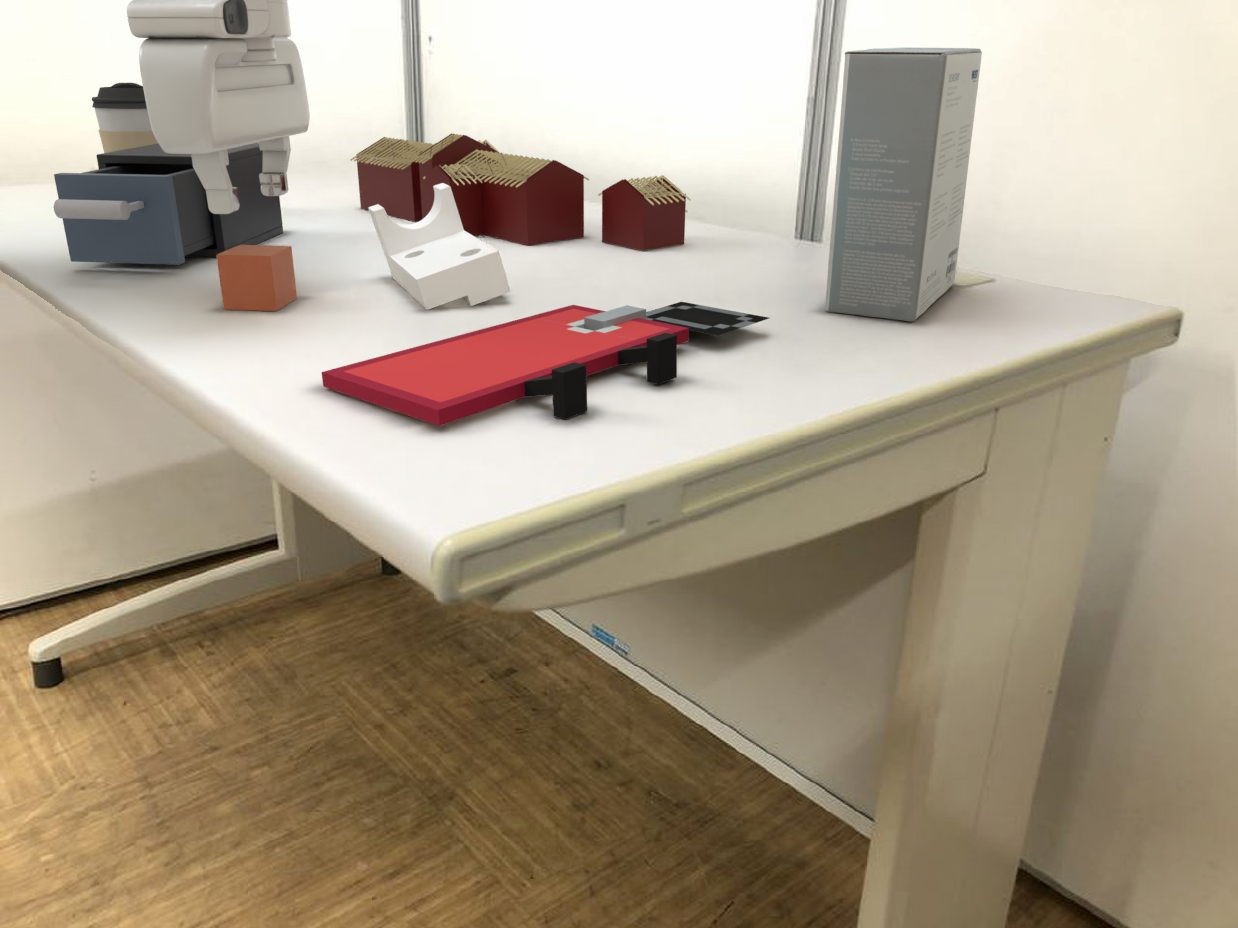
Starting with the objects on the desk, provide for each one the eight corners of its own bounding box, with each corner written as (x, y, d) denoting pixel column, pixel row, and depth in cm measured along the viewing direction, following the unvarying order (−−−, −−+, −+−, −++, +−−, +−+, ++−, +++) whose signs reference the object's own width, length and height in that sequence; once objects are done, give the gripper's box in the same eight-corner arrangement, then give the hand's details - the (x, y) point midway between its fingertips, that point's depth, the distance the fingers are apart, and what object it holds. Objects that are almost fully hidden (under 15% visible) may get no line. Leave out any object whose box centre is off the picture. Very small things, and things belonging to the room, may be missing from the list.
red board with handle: (791, 334, 75) (636, 304, 84) (793, 296, 74) (636, 270, 83) (485, 449, 55) (324, 393, 64) (482, 399, 53) (318, 350, 63)
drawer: (155, 274, 89) (140, 183, 86) (42, 271, 90) (23, 180, 87) (242, 238, 106) (232, 160, 103) (146, 236, 107) (133, 158, 104)
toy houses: (341, 210, 130) (333, 126, 126) (476, 196, 142) (473, 120, 138) (563, 266, 99) (562, 157, 95) (711, 242, 111) (715, 145, 107)
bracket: (396, 287, 94) (367, 207, 90) (467, 262, 96) (442, 183, 92) (430, 320, 83) (399, 231, 79) (510, 291, 85) (484, 202, 81)
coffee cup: (199, 216, 124) (180, 85, 119) (118, 222, 120) (95, 85, 114) (181, 206, 131) (163, 82, 126) (105, 212, 127) (82, 82, 121)
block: (223, 309, 82) (215, 254, 80) (246, 297, 86) (239, 244, 84) (276, 311, 81) (270, 256, 80) (297, 298, 86) (291, 245, 84)
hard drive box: (870, 277, 96) (895, 47, 88) (954, 286, 92) (987, 48, 85) (820, 312, 83) (844, 47, 75) (916, 324, 80) (950, 48, 72)
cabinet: (226, 257, 101) (212, 157, 97) (113, 254, 102) (95, 154, 98) (283, 232, 115) (273, 143, 111) (184, 230, 115) (170, 141, 112)
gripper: (244, 15, 85) (266, 186, 90) (111, 7, 66) (147, 223, 72) (318, 15, 85) (335, 187, 90) (204, 7, 66) (234, 225, 71)
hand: (251, 203), depth 81 cm, fingers open, 8 cm apart
